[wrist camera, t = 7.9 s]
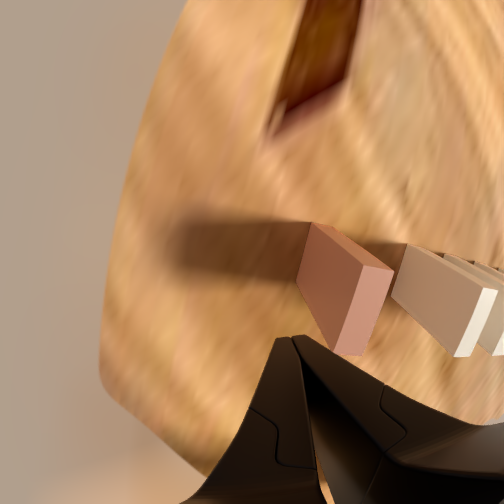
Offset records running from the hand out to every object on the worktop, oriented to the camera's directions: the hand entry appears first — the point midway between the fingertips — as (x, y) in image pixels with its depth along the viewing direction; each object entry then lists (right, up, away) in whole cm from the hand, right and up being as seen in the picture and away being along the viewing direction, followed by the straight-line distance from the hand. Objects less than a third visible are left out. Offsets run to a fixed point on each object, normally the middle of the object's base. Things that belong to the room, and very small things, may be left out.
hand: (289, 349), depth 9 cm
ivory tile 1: (+11, +1, +14) cm, 18 cm away
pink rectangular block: (+3, +3, +13) cm, 14 cm away
